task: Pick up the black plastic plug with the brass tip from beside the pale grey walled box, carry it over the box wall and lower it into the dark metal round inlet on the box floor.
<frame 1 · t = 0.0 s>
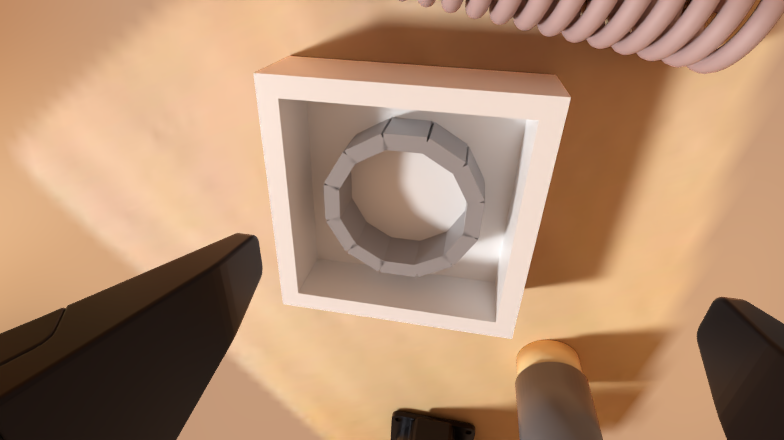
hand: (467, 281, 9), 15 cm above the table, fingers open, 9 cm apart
plug: (547, 361, 29), on the table
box: (409, 185, 24), on the table
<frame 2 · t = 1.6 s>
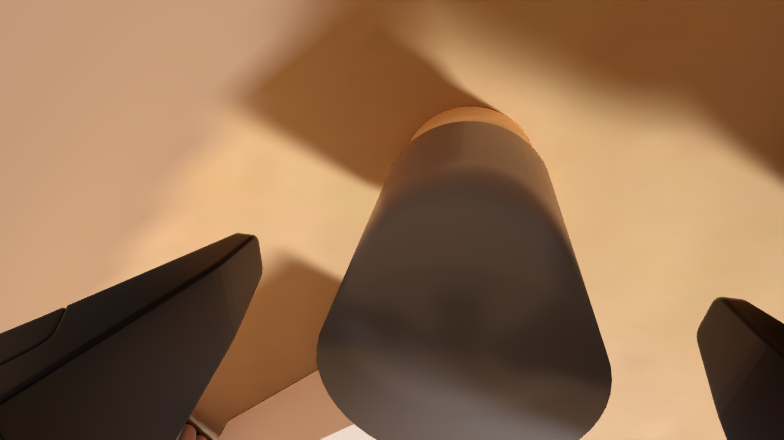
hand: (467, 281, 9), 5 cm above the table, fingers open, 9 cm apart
plug: (467, 170, 13), on the table
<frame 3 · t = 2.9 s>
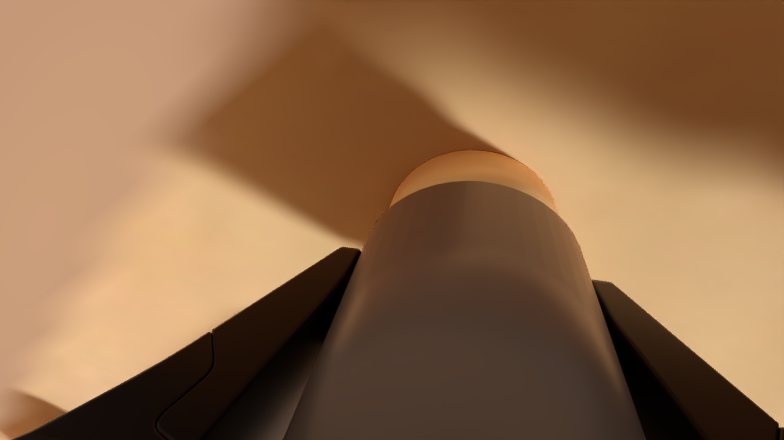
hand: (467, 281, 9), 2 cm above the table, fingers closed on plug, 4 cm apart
plug: (470, 228, 10), on the table, touching gripper
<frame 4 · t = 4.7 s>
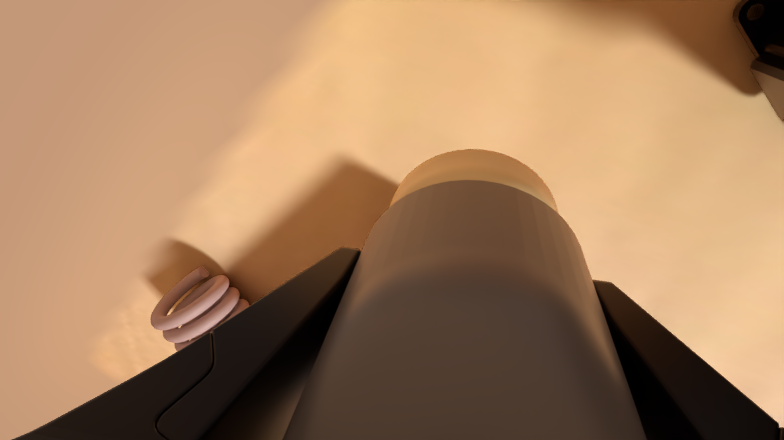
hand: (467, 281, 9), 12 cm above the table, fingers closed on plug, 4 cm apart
plug: (470, 227, 10), point 10 cm above the table, touching gripper
coil: (286, 358, 30), on the table
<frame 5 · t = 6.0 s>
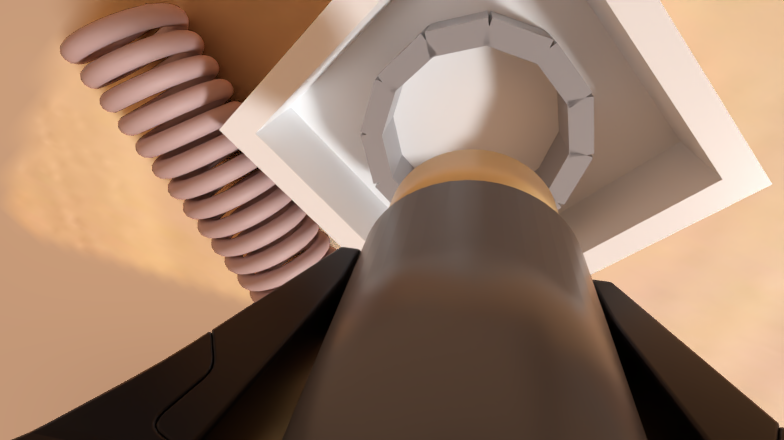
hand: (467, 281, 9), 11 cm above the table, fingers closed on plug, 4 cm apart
plug: (470, 227, 10), point 9 cm above the table, touching gripper
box: (474, 118, 18), on the table
coil: (270, 181, 22), on the table
when the fingers open (4 cm above the table, at t = 8.3 s): plug stays where it is, resting on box.
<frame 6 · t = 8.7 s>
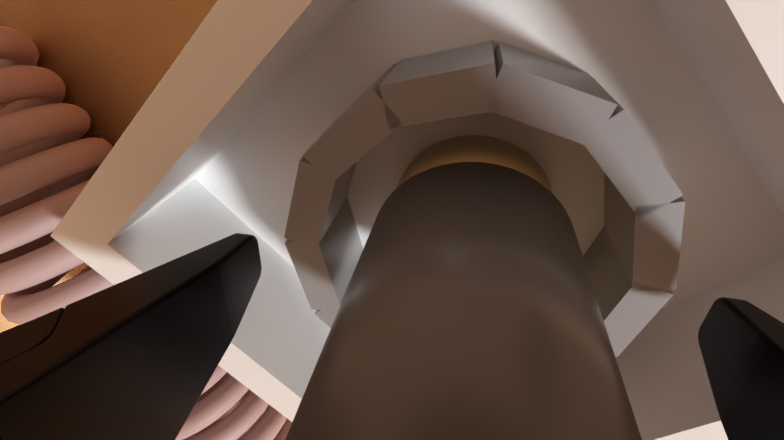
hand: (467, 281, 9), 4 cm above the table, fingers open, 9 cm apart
plug: (471, 209, 11), point 1 cm above the table, touching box
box: (471, 199, 12), on the table
coil: (185, 266, 16), on the table
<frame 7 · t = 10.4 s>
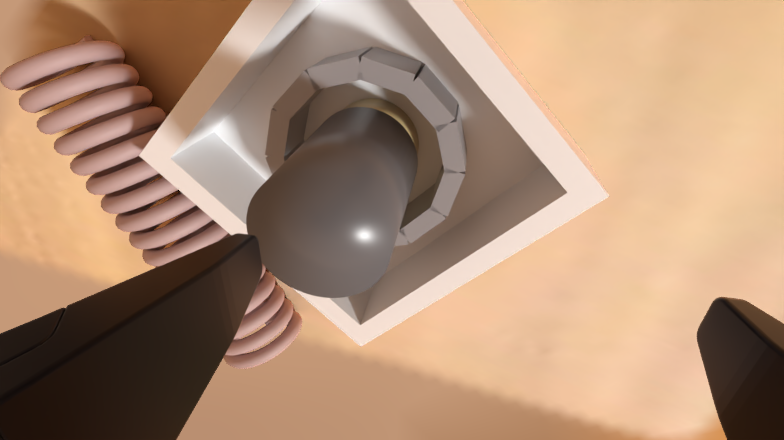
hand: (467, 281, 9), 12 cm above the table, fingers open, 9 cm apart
plug: (374, 143, 19), point 1 cm above the table, touching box
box: (376, 139, 20), on the table
coil: (205, 196, 24), on the table
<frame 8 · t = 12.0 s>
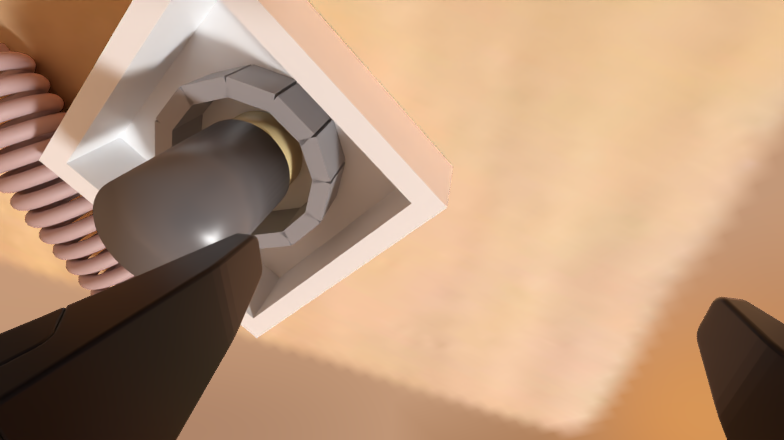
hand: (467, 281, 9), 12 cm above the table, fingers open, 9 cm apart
plug: (263, 151, 21), point 1 cm above the table, touching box
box: (268, 147, 22), on the table
coil: (121, 195, 26), on the table
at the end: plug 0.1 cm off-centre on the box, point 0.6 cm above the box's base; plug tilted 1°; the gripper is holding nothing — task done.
